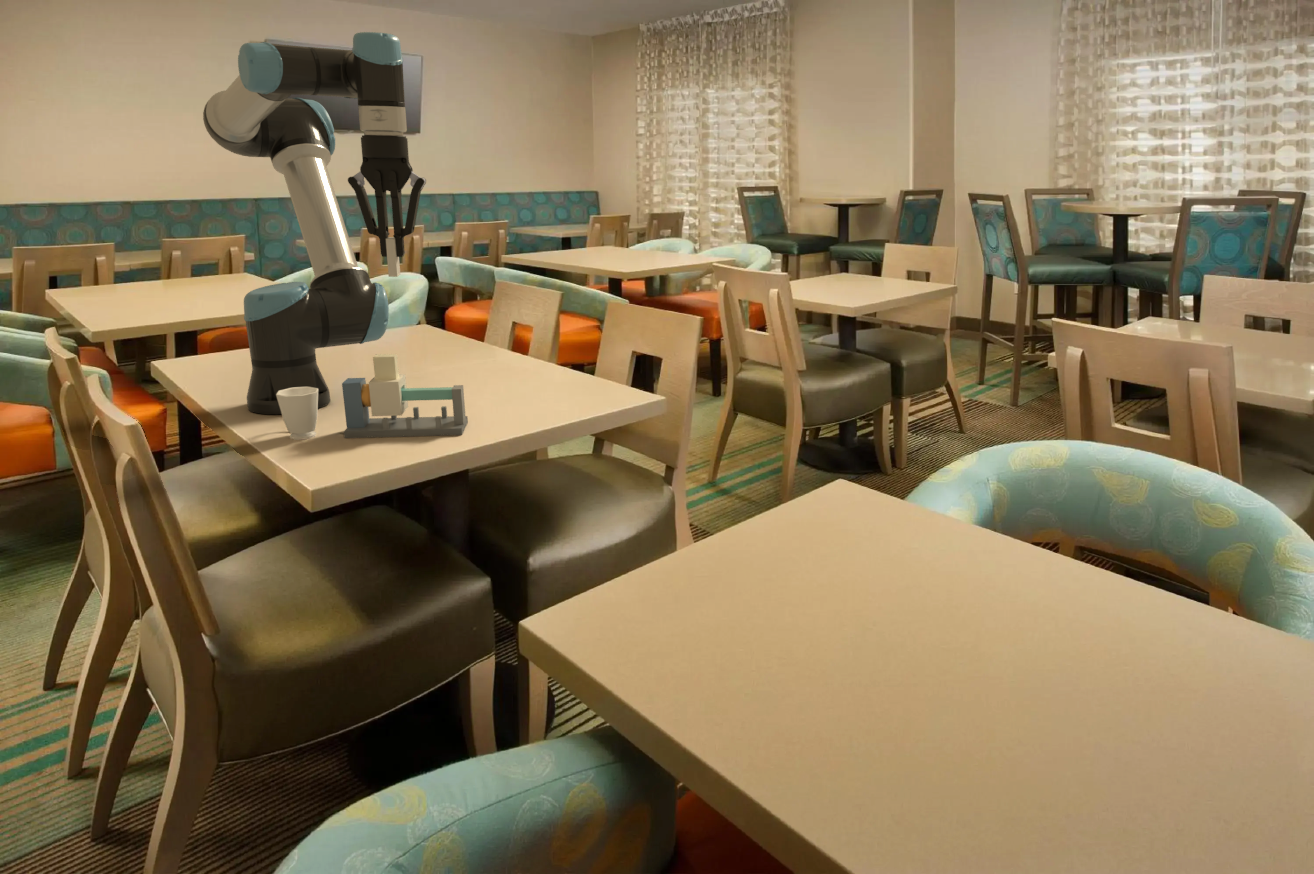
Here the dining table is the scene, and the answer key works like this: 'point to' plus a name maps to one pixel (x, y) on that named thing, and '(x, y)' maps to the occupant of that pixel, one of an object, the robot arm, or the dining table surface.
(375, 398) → the sleeve
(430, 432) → the sliding block rail
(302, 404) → the cup
